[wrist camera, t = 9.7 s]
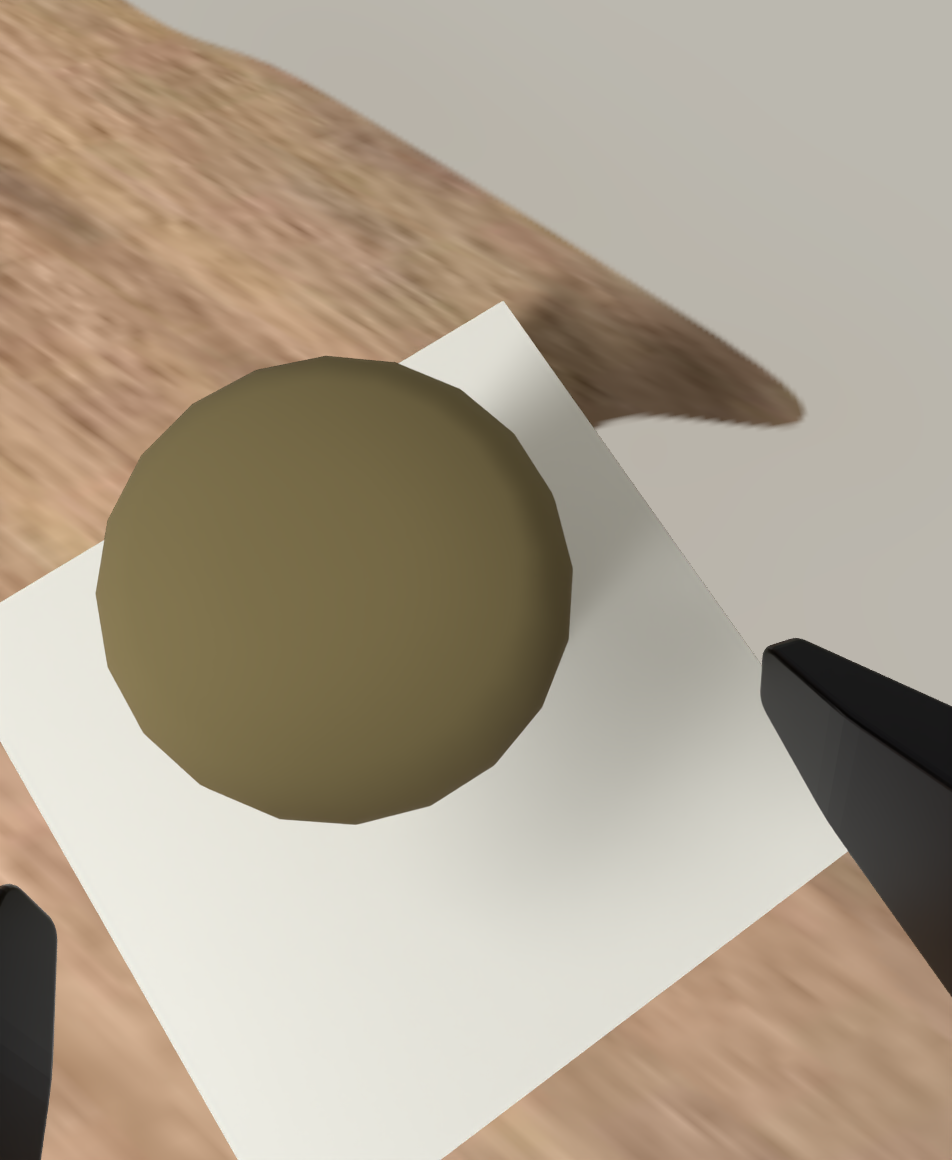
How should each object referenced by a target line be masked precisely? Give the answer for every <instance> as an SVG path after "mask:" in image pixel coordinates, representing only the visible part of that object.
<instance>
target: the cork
mask: <svg viewBox="0 0 952 1160" xmlns="http://www.w3.org/2000/svg"><path fill="white" fill-rule="evenodd" d="M572 577H573V567H572V563H571V559H570V555H569V552H568V548H567V544H566V540H565V536H564V532H563V529H562V525H561V521H560V517H559V513H558V510H557V506H556V502H555V499H554V497H553V494H552V492H551V490H550V489H549V487H548V486H547V484H546V482H545V481H544V479H543V478H542V476H541V475H540V473H539V472H538V470H537V468H536V467H535V465H534V464H533V462H532V461H531V459H530V457H529V456H528V454H527V453H526V451H525V450H524V448H523V447H522V445H521V443H520V442H519V440H518V439H517V437H516V436H515V434H514V433H513V432H512V431H511V430H509V429H508V428H507V427H506V426H505V425H503V424H502V423H501V422H500V421H498V420H497V419H496V418H495V417H494V416H492V415H491V414H490V413H489V412H488V411H486V410H485V409H484V408H483V407H482V406H480V405H479V404H478V403H477V402H476V401H474V400H473V399H472V398H471V397H470V396H468V395H467V394H466V393H465V392H464V391H462V390H461V389H459V388H457V387H454V386H452V385H449V384H447V383H445V382H442V381H440V380H437V379H435V378H432V377H430V376H428V375H425V374H423V373H420V372H418V371H415V370H413V369H411V368H408V367H406V366H403V365H401V364H398V363H396V362H385V361H375V360H364V359H353V358H343V357H332V356H323V357H318V358H313V359H308V360H303V361H298V362H293V363H288V364H283V365H278V366H274V367H269V368H264V369H259V370H255V371H253V372H251V373H250V374H248V375H246V376H244V377H242V378H240V379H238V380H236V381H235V382H233V383H231V384H229V385H227V386H225V387H223V388H222V389H220V390H218V391H216V392H214V393H212V394H210V395H208V396H207V397H205V398H203V399H201V400H199V401H197V402H195V403H194V404H192V405H191V406H190V407H189V408H188V409H187V410H186V411H185V412H184V413H183V414H182V415H181V416H180V417H179V418H178V419H177V420H176V421H175V422H174V423H173V424H172V425H171V426H170V427H169V428H168V429H167V430H166V431H165V432H164V433H163V434H162V435H161V436H160V437H159V438H158V439H157V440H156V441H155V442H154V443H153V444H152V445H151V446H150V447H149V448H148V449H147V450H146V451H145V452H144V453H143V454H142V455H141V457H140V459H139V461H138V463H137V465H136V467H135V469H134V470H133V472H132V474H131V476H130V478H129V480H128V482H127V484H126V486H125V488H124V490H123V492H122V494H121V496H120V498H119V499H118V501H117V503H116V505H115V507H114V509H113V511H112V513H111V515H110V517H109V519H108V521H107V526H106V532H105V539H104V545H103V551H102V557H101V563H100V569H99V575H98V581H97V587H96V593H95V594H96V600H97V606H98V612H99V618H100V624H101V631H102V637H103V643H104V649H105V655H106V661H107V667H108V669H109V671H110V673H111V675H112V676H113V678H114V680H115V682H116V684H117V686H118V687H119V689H120V691H121V693H122V695H123V697H124V699H125V700H126V702H127V704H128V706H129V708H130V710H131V711H132V713H133V715H134V717H135V719H136V721H137V723H138V724H139V726H140V728H141V730H142V732H143V733H144V734H145V735H146V736H147V737H148V738H149V739H150V740H151V741H152V742H153V743H155V744H156V745H157V746H158V747H159V748H160V749H161V750H162V751H163V752H164V753H166V754H167V755H168V756H169V757H170V758H171V759H172V760H173V761H174V762H175V763H177V764H178V765H179V766H180V767H181V768H182V769H183V770H184V771H185V772H186V773H188V774H189V775H190V776H191V777H192V778H193V779H194V780H195V781H196V782H197V783H199V784H200V785H202V786H204V787H206V788H208V789H210V790H212V791H215V792H217V793H219V794H222V795H224V796H226V797H229V798H231V799H233V800H236V801H238V802H240V803H243V804H245V805H247V806H250V807H252V808H254V809H257V810H259V811H261V812H264V813H266V814H268V815H271V816H273V817H275V818H278V819H283V820H296V821H310V822H323V823H337V824H350V825H358V824H362V823H366V822H370V821H374V820H378V819H381V818H385V817H389V816H393V815H397V814H401V813H405V812H409V811H413V810H417V809H421V808H425V807H429V806H431V805H433V804H435V803H436V802H438V801H439V800H441V799H442V798H444V797H446V796H447V795H449V794H450V793H452V792H453V791H455V790H457V789H458V788H460V787H461V786H463V785H464V784H466V783H468V782H469V781H471V780H472V779H474V778H475V777H477V776H479V775H480V774H482V773H483V772H485V771H486V770H488V769H490V768H491V767H493V766H494V765H495V764H496V763H497V762H498V761H499V759H500V758H501V757H502V756H503V755H504V753H505V752H506V751H507V750H508V748H509V747H510V746H511V745H512V744H513V742H514V741H515V740H516V739H517V738H518V736H519V735H520V734H521V733H522V731H523V730H524V729H525V728H526V727H527V725H528V724H529V723H530V722H531V721H532V719H533V718H534V717H535V716H536V714H537V713H538V712H539V711H540V710H541V708H542V707H543V704H544V702H545V699H546V697H547V694H548V691H549V689H550V686H551V684H552V681H553V679H554V676H555V674H556V671H557V669H558V666H559V663H560V661H561V658H562V656H563V653H564V651H565V648H566V646H567V643H568V640H569V628H570V611H571V594H572Z"/></svg>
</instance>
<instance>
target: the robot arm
mask: <svg viewBox="0 0 952 1160" xmlns="http://www.w3.org/2000/svg"><path fill="white" fill-rule="evenodd" d="M760 697H761V702H762V705H763V708H764V710H765V712H766V714H767V716H768V718H769V719H770V721H771V723H772V725H773V727H774V728H775V730H776V732H777V734H778V736H779V737H780V739H781V741H782V743H783V744H784V746H785V748H786V750H787V752H788V753H789V755H790V757H791V759H792V760H793V762H794V764H795V766H796V768H797V769H798V771H799V773H800V775H801V777H802V778H803V780H804V782H805V784H806V785H807V787H808V789H809V791H810V793H811V794H812V796H813V798H814V800H815V802H816V803H817V805H818V807H819V808H820V810H821V812H822V813H823V815H824V817H825V818H826V820H827V821H828V823H829V824H830V826H831V827H832V829H833V830H834V832H835V833H836V835H837V836H838V838H839V839H840V841H841V842H842V843H843V845H844V846H845V848H846V849H847V850H848V852H849V853H850V855H851V856H852V857H853V859H854V860H855V862H856V863H857V864H858V866H859V867H860V869H861V870H862V871H863V873H864V874H865V876H866V877H867V878H868V880H869V881H870V883H871V884H872V886H873V887H874V888H875V890H876V891H877V893H878V894H879V895H880V897H881V898H882V900H883V901H884V902H885V904H886V905H887V907H888V908H889V909H890V911H891V912H892V914H893V915H894V916H895V918H896V919H897V921H898V922H899V923H900V925H901V926H902V928H903V929H904V931H905V932H906V933H907V935H908V936H909V938H910V939H911V940H912V942H913V943H914V945H915V946H916V947H917V949H918V950H919V952H920V953H921V954H922V956H923V957H924V959H925V960H926V961H927V963H928V964H929V966H930V967H931V968H932V970H933V971H934V973H935V974H936V976H937V977H938V978H939V980H940V981H941V983H942V984H943V985H944V987H945V988H946V990H947V991H948V992H949V994H950V995H951V997H952V706H950V705H948V704H945V703H943V702H941V701H939V700H937V699H934V698H932V697H930V696H928V695H926V694H923V693H921V692H919V691H917V690H914V689H912V688H910V687H908V686H906V685H903V684H901V683H899V682H897V681H895V680H892V679H890V678H888V677H885V676H883V675H881V674H879V673H877V672H875V671H872V670H870V669H868V668H866V667H863V666H861V665H859V664H857V663H855V662H852V661H850V660H848V659H846V658H844V657H841V656H839V655H837V654H835V653H832V652H830V651H828V650H826V649H824V648H821V647H819V646H817V645H815V644H812V643H810V642H808V641H806V640H803V639H799V638H793V639H789V640H786V641H782V642H779V643H776V644H773V645H770V646H768V647H767V648H766V649H765V651H764V653H763V659H762V672H761V686H760ZM56 962H57V933H56V929H55V925H54V923H53V921H52V919H51V918H50V917H49V916H48V915H47V914H46V913H45V912H44V911H43V910H42V909H41V908H40V907H39V906H38V905H37V904H36V903H35V902H34V901H33V900H32V899H31V898H30V897H29V896H28V895H27V894H26V893H25V892H23V891H22V890H21V889H20V888H19V887H18V886H15V885H12V884H5V885H2V886H0V1160H41V1154H42V1147H43V1140H44V1133H45V1126H46V1119H47V1112H48V1105H49V1097H50V1088H51V1080H52V1065H53V1046H54V1018H55V990H56Z"/></svg>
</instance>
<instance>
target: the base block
mask: <svg viewBox="0 0 952 1160" xmlns="http://www.w3.org/2000/svg"><path fill="white" fill-rule="evenodd" d="M399 364H401V365H403V366H406V367H408V368H411V369H413V370H415V371H418V372H420V373H423V374H425V375H428V376H430V377H432V378H435V379H437V380H440V381H442V382H445V383H447V384H449V385H452V386H454V387H457V388H459V389H461V390H462V391H464V392H465V393H466V394H467V395H468V396H470V397H471V398H472V399H473V400H474V401H476V402H477V403H478V404H479V405H480V406H482V407H483V408H484V409H485V410H486V411H488V412H489V413H490V414H491V415H492V416H494V417H495V418H496V419H497V420H498V421H500V422H501V423H502V424H503V425H505V426H506V427H507V428H508V429H509V430H511V431H512V432H513V433H514V434H515V436H516V437H517V439H518V440H519V442H520V443H521V445H522V447H523V448H524V450H525V451H526V453H527V454H528V456H529V457H530V459H531V461H532V462H533V464H534V465H535V467H536V468H537V470H538V472H539V473H540V475H541V476H542V478H543V479H544V481H545V482H546V484H547V486H548V487H549V489H550V490H551V492H552V494H553V497H554V499H555V502H556V506H557V510H558V513H559V517H560V521H561V525H562V529H563V532H564V536H565V540H566V544H567V548H568V552H569V555H570V559H571V563H572V567H573V577H572V594H571V611H570V628H569V640H568V643H567V646H566V648H565V651H564V653H563V656H562V658H561V661H560V663H559V666H558V669H557V671H556V674H555V676H554V679H553V681H552V684H551V686H550V689H549V691H548V694H547V697H546V699H545V702H544V704H543V707H542V708H541V710H540V711H539V712H538V713H537V714H536V716H535V717H534V718H533V719H532V721H531V722H530V723H529V724H528V725H527V727H526V728H525V729H524V730H523V731H522V733H521V734H520V735H519V736H518V738H517V739H516V740H515V741H514V742H513V744H512V745H511V746H510V747H509V748H508V750H507V751H506V752H505V753H504V755H503V756H502V757H501V758H500V759H499V761H498V762H497V763H496V764H495V765H494V766H493V767H491V768H490V769H488V770H486V771H485V772H483V773H482V774H480V775H479V776H477V777H475V778H474V779H472V780H471V781H469V782H468V783H466V784H464V785H463V786H461V787H460V788H458V789H457V790H455V791H453V792H452V793H450V794H449V795H447V796H446V797H444V798H442V799H441V800H439V801H438V802H436V803H435V804H433V805H431V806H429V807H425V808H421V809H417V810H413V811H409V812H405V813H401V814H397V815H393V816H389V817H385V818H381V819H378V820H374V821H370V822H366V823H362V824H358V825H350V824H337V823H323V822H310V821H296V820H283V819H278V818H275V817H273V816H271V815H268V814H266V813H264V812H261V811H259V810H257V809H254V808H252V807H250V806H247V805H245V804H243V803H240V802H238V801H236V800H233V799H231V798H229V797H226V796H224V795H222V794H219V793H217V792H215V791H212V790H210V789H208V788H206V787H204V786H202V785H200V784H199V783H197V782H196V781H195V780H194V779H193V778H192V777H191V776H190V775H189V774H188V773H186V772H185V771H184V770H183V769H182V768H181V767H180V766H179V765H178V764H177V763H175V762H174V761H173V760H172V759H171V758H170V757H169V756H168V755H167V754H166V753H164V752H163V751H162V750H161V749H160V748H159V747H158V746H157V745H156V744H155V743H153V742H152V741H151V740H150V739H149V738H148V737H147V736H146V735H145V734H144V733H143V732H142V730H141V728H140V726H139V724H138V723H137V721H136V719H135V717H134V715H133V713H132V711H131V710H130V708H129V706H128V704H127V702H126V700H125V699H124V697H123V695H122V693H121V691H120V689H119V687H118V686H117V684H116V682H115V680H114V678H113V676H112V675H111V673H110V671H109V669H108V667H107V661H106V655H105V649H104V643H103V637H102V631H101V624H100V618H99V612H98V606H97V600H96V594H95V593H96V587H97V581H98V575H99V569H100V563H101V557H102V551H103V545H104V541H102V542H100V543H99V544H97V545H95V546H94V547H92V548H90V549H89V550H87V551H85V552H84V553H82V554H80V555H79V556H77V557H75V558H74V559H72V560H70V561H69V562H67V563H65V564H64V565H62V566H60V567H59V568H57V569H55V570H54V571H52V572H50V573H49V574H47V575H45V576H44V577H42V578H40V579H39V580H37V581H35V582H34V583H32V584H30V585H29V586H27V587H25V588H24V589H22V590H20V591H19V592H17V593H15V594H14V595H12V596H10V597H9V598H7V599H5V600H4V601H2V602H0V742H1V743H2V745H3V747H4V749H5V750H6V752H7V754H8V756H9V757H10V759H11V761H12V763H13V765H14V766H15V768H16V770H17V772H18V773H19V775H20V777H21V779H22V780H23V782H24V784H25V786H26V787H27V789H28V791H29V793H30V794H31V796H32V798H33V800H34V802H35V803H36V805H37V807H38V809H39V810H40V812H41V814H42V816H43V817H44V819H45V821H46V823H47V824H48V826H49V828H50V830H51V831H52V833H53V835H54V837H55V838H56V840H57V842H58V844H59V846H60V847H61V849H62V851H63V853H64V854H65V856H66V858H67V860H68V861H69V863H70V865H71V867H72V868H73V870H74V872H75V874H76V875H77V877H78V879H79V881H80V883H81V884H82V886H83V888H84V890H85V891H86V893H87V895H88V897H89V898H90V900H91V902H92V904H93V905H94V907H95V909H96V911H97V912H98V914H99V916H100V918H101V919H102V921H103V923H104V925H105V927H106V928H107V930H108V932H109V934H110V935H111V937H112V939H113V941H114V942H115V944H116V946H117V948H118V949H119V951H120V953H121V955H122V956H123V958H124V960H125V962H126V964H127V965H128V967H129V969H130V971H131V972H132V974H133V976H134V978H135V979H136V981H137V983H138V985H139V986H140V988H141V990H142V992H143V993H144V995H145V997H146V999H147V1000H148V1002H149V1004H150V1006H151V1008H152V1009H153V1011H154V1013H155V1015H156V1016H157V1018H158V1020H159V1022H160V1023H161V1025H162V1027H163V1029H164V1030H165V1032H166V1034H167V1036H168V1037H169V1039H170V1041H171V1043H172V1045H173V1046H174V1048H175V1050H176V1052H177V1053H178V1055H179V1057H180V1059H181V1060H182V1062H183V1064H184V1066H185V1067H186V1069H187V1071H188V1073H189V1074H190V1076H191V1078H192V1080H193V1081H194V1083H195V1085H196V1087H197V1089H198V1090H199V1092H200V1094H201V1096H202V1097H203V1099H204V1101H205V1103H206V1104H207V1106H208V1108H209V1110H210V1111H211V1113H212V1115H213V1117H214V1118H215V1120H216V1122H217V1124H218V1126H219V1127H220V1129H221V1131H222V1133H223V1134H224V1136H225V1138H226V1140H227V1141H228V1143H229V1145H230V1147H231V1148H232V1150H233V1152H234V1154H235V1155H236V1157H237V1159H238V1160H441V1159H442V1158H444V1157H445V1156H446V1155H448V1154H449V1153H450V1152H451V1151H453V1150H454V1149H455V1148H457V1147H458V1146H459V1145H461V1144H462V1143H463V1142H465V1141H466V1140H467V1139H469V1138H470V1137H471V1136H473V1135H474V1134H475V1133H477V1132H478V1131H479V1130H481V1129H482V1128H483V1127H484V1126H486V1125H487V1124H488V1123H490V1122H491V1121H492V1120H494V1119H495V1118H496V1117H498V1116H499V1115H500V1114H502V1113H503V1112H504V1111H506V1110H507V1109H508V1108H510V1107H511V1106H512V1105H514V1104H515V1103H516V1102H517V1101H519V1100H520V1099H521V1098H523V1097H524V1096H525V1095H527V1094H528V1093H529V1092H531V1091H532V1090H533V1089H535V1088H536V1087H537V1086H539V1085H540V1084H541V1083H543V1082H544V1081H545V1080H547V1079H548V1078H549V1077H550V1076H552V1075H553V1074H554V1073H556V1072H557V1071H558V1070H560V1069H561V1068H562V1067H564V1066H565V1065H566V1064H568V1063H569V1062H570V1061H572V1060H573V1059H574V1058H576V1057H577V1056H578V1055H580V1054H581V1053H582V1052H584V1051H585V1050H586V1049H587V1048H589V1047H590V1046H591V1045H593V1044H594V1043H595V1042H597V1041H598V1040H599V1039H601V1038H602V1037H603V1036H605V1035H606V1034H607V1033H609V1032H610V1031H611V1030H613V1029H614V1028H615V1027H617V1026H618V1025H619V1024H620V1023H622V1022H623V1021H624V1020H626V1019H627V1018H628V1017H630V1016H631V1015H632V1014H634V1013H635V1012H636V1011H638V1010H639V1009H640V1008H642V1007H643V1006H644V1005H646V1004H647V1003H648V1002H650V1001H651V1000H652V999H653V998H655V997H656V996H657V995H659V994H660V993H661V992H663V991H664V990H665V989H667V988H668V987H669V986H671V985H672V984H673V983H675V982H676V981H677V980H679V979H680V978H681V977H683V976H684V975H685V974H686V973H688V972H689V971H690V970H692V969H693V968H694V967H696V966H697V965H698V964H700V963H701V962H702V961H704V960H705V959H706V958H708V957H709V956H710V955H712V954H713V953H714V952H716V951H717V950H718V949H719V948H721V947H722V946H723V945H725V944H726V943H727V942H729V941H730V940H731V939H733V938H734V937H735V936H737V935H738V934H739V933H741V932H742V931H743V930H745V929H746V928H747V927H749V926H750V925H751V924H752V923H754V922H755V921H756V920H758V919H759V918H760V917H762V916H763V915H764V914H766V913H767V912H768V911H770V910H771V909H772V908H774V907H775V906H776V905H778V904H779V903H780V902H782V901H783V900H784V899H785V898H787V897H788V896H789V895H791V894H792V893H793V892H795V891H796V890H797V889H799V888H800V887H801V886H803V885H804V884H805V883H807V882H808V881H809V880H811V879H812V878H813V877H815V876H816V875H817V874H818V873H820V872H821V871H822V870H824V869H825V868H826V867H828V866H829V865H830V864H832V863H833V862H834V861H836V860H837V859H838V858H840V857H841V856H842V855H844V854H845V853H846V852H848V850H847V849H846V848H845V846H844V845H843V843H842V842H841V841H840V839H839V838H838V836H837V835H836V833H835V832H834V830H833V829H832V827H831V826H830V824H829V823H828V821H827V820H826V818H825V817H824V815H823V813H822V812H821V810H820V808H819V807H818V805H817V803H816V802H815V800H814V798H813V796H812V794H811V793H810V791H809V789H808V787H807V785H806V784H805V782H804V780H803V778H802V777H801V775H800V773H799V771H798V769H797V768H796V766H795V764H794V762H793V760H792V759H791V757H790V755H789V753H788V752H787V750H786V748H785V746H784V744H783V743H782V741H781V739H780V737H779V736H778V734H777V732H776V730H775V728H774V727H773V725H772V723H771V721H770V719H769V718H768V716H767V714H766V712H765V710H764V708H763V705H762V702H761V697H760V686H761V672H762V665H761V663H760V662H759V661H758V659H757V658H756V656H755V655H754V653H753V652H752V651H751V649H750V648H749V646H748V645H747V644H746V642H745V641H744V639H743V638H742V637H741V635H740V634H739V632H738V631H737V629H736V628H735V627H734V625H733V624H732V622H731V621H730V620H729V618H728V617H727V615H726V614H725V613H724V611H723V610H722V608H721V607H720V606H719V604H718V603H717V601H716V600H715V598H714V597H713V596H712V594H711V593H710V591H709V590H708V589H707V587H706V586H705V584H704V583H703V582H702V580H701V579H700V577H699V576H698V575H697V573H696V572H695V571H694V569H693V567H692V566H691V565H690V563H689V562H688V561H687V559H686V558H685V556H684V555H683V554H682V552H681V551H680V549H679V548H678V547H677V545H676V543H675V542H674V541H673V539H672V538H671V536H670V535H669V534H668V532H667V531H666V529H665V528H664V527H663V525H662V524H661V522H660V521H659V520H658V518H657V517H656V516H655V514H654V512H653V511H652V510H651V508H650V507H649V505H648V504H647V503H646V501H645V500H644V499H643V497H642V496H641V494H640V493H639V492H638V490H637V488H636V487H635V486H634V484H633V483H632V482H631V480H630V479H629V477H628V476H627V475H626V473H625V472H624V470H623V469H622V467H621V466H620V465H619V463H618V462H617V460H616V459H615V458H614V456H613V455H612V453H611V452H610V450H609V449H608V448H607V446H606V445H605V444H604V442H603V441H602V439H601V438H600V436H599V435H598V434H597V432H596V431H595V429H594V428H593V426H592V425H591V424H590V422H589V421H588V419H587V418H586V417H585V415H584V414H583V412H582V411H581V410H580V408H579V407H578V405H577V404H576V402H575V401H574V400H573V398H572V397H571V395H570V394H569V393H568V391H567V390H566V388H565V387H564V386H563V384H562V383H561V381H560V380H559V379H558V377H557V376H556V374H555V373H554V371H553V370H552V369H551V367H550V366H549V364H548V363H547V362H546V360H545V359H544V357H543V356H542V355H541V353H540V352H539V350H538V349H537V348H536V346H535V345H534V343H533V342H532V340H531V339H530V338H529V336H528V335H527V333H526V332H525V331H524V329H523V328H522V326H521V325H520V324H519V322H518V321H517V319H516V318H515V316H514V315H513V314H512V312H511V311H510V309H509V308H508V307H507V305H506V304H505V302H504V301H502V302H500V303H499V304H497V305H495V306H494V307H492V308H490V309H489V310H487V311H485V312H484V313H482V314H480V315H479V316H477V317H475V318H474V319H472V320H470V321H469V322H467V323H465V324H464V325H462V326H460V327H459V328H457V329H455V330H454V331H452V332H450V333H449V334H447V335H445V336H444V337H442V338H440V339H439V340H437V341H435V342H434V343H432V344H430V345H429V346H427V347H425V348H424V349H422V350H420V351H419V352H417V353H415V354H414V355H412V356H410V357H409V358H407V359H405V360H404V361H402V362H400V363H399Z"/></svg>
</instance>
